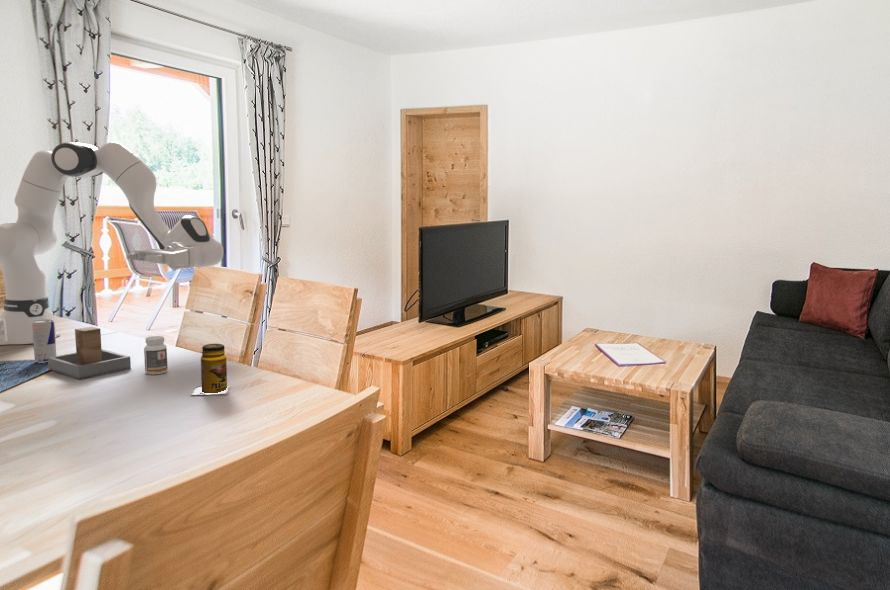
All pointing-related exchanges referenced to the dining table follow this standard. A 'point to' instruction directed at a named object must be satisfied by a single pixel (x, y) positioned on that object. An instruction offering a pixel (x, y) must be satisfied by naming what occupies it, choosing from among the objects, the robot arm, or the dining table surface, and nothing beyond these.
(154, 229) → the robot arm
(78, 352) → the walnut block
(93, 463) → the dining table surface
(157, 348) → the pill bottle
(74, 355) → the tote
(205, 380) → the condiment
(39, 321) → the energy drink
